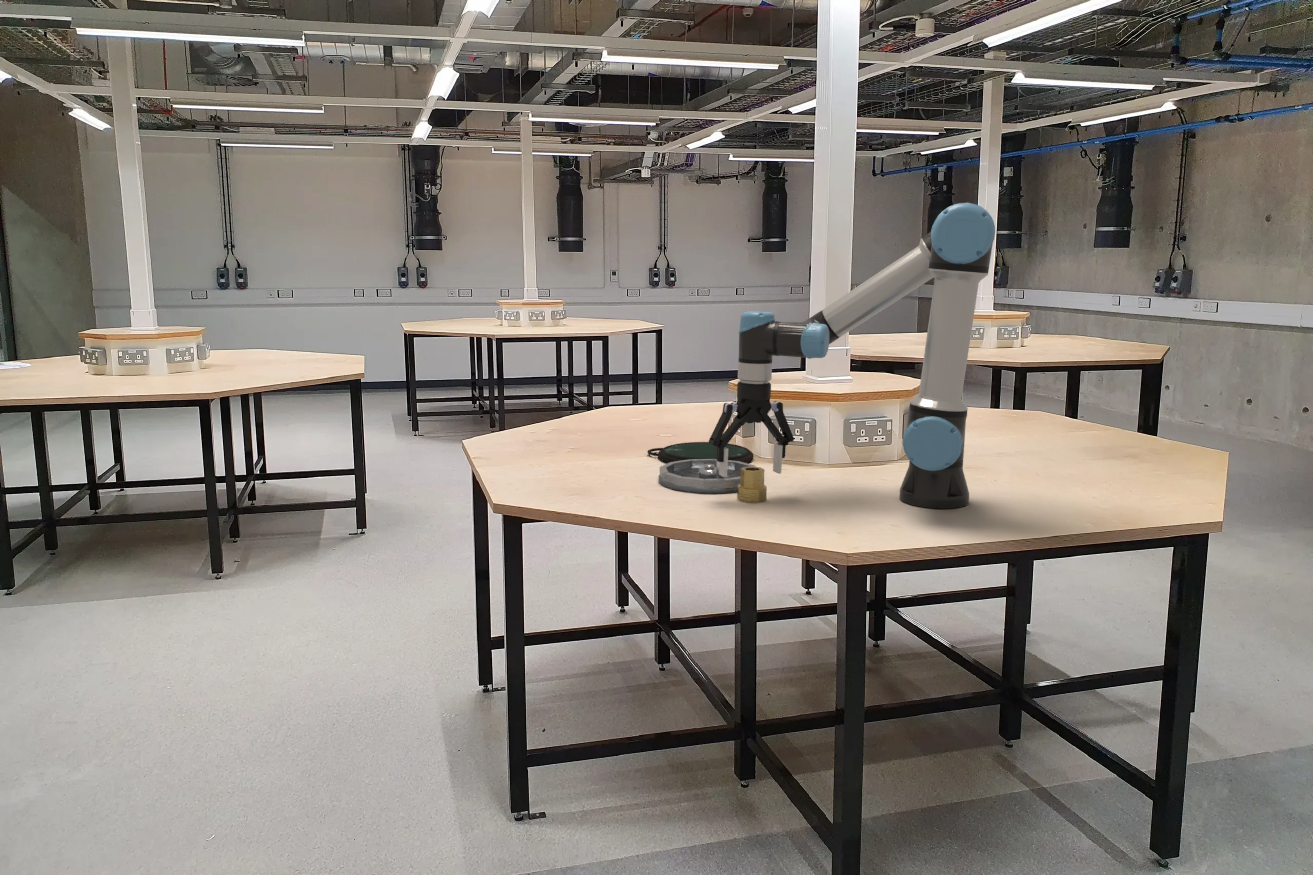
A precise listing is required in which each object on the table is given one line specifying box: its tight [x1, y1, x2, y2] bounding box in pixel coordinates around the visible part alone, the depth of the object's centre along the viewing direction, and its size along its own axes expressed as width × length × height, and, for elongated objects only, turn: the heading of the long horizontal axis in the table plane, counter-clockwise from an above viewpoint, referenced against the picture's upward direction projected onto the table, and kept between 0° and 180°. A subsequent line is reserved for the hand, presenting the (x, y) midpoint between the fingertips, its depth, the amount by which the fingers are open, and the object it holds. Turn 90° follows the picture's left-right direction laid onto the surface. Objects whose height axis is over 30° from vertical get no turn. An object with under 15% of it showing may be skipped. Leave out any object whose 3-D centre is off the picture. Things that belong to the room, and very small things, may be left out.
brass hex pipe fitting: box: [736, 466, 768, 503], centre depth 210 cm, size 6×6×7 cm
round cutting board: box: [647, 441, 754, 464], centre depth 256 cm, size 26×3×30 cm
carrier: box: [658, 459, 757, 495], centre depth 227 cm, size 25×25×8 cm
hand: (750, 474), depth 210 cm, fingers open, 13 cm apart
